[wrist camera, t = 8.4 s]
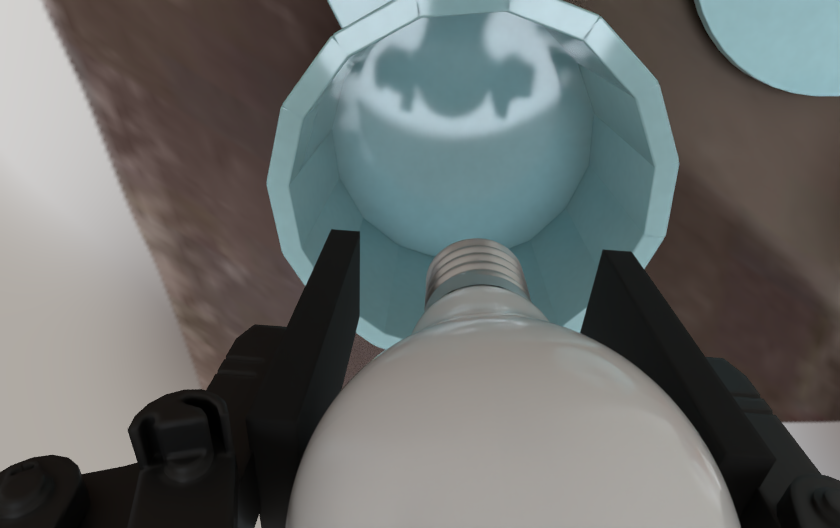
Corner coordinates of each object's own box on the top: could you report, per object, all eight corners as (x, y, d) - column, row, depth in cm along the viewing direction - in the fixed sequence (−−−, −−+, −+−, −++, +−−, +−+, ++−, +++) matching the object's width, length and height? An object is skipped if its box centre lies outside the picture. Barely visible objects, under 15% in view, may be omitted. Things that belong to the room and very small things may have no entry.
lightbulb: (461, 111, 12) (522, 572, 3) (634, 256, 14) (1048, 849, 4) (321, 282, 15) (98, 828, 5) (482, 386, 17) (536, 941, 7)
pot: (525, -161, 19) (574, -248, 12) (651, 246, 28) (727, 343, 20) (230, 19, 23) (130, 38, 16) (421, 333, 31) (414, 442, 24)
